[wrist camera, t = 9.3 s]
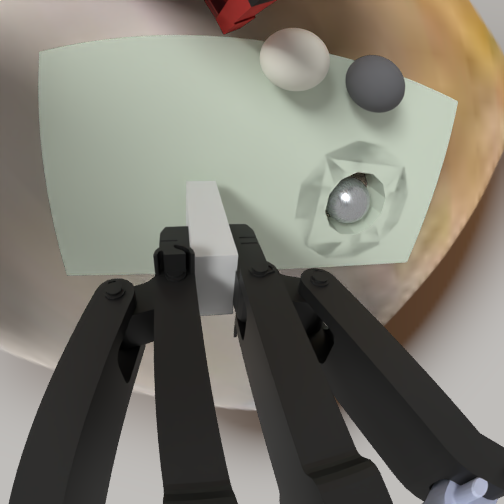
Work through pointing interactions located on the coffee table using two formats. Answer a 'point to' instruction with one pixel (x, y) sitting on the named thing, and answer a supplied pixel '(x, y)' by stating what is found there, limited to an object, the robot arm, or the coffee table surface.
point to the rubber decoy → (375, 83)
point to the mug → (235, 12)
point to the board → (226, 153)
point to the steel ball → (348, 201)
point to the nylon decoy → (294, 59)
